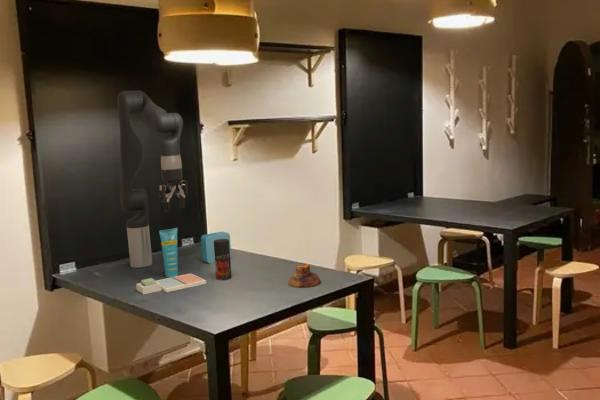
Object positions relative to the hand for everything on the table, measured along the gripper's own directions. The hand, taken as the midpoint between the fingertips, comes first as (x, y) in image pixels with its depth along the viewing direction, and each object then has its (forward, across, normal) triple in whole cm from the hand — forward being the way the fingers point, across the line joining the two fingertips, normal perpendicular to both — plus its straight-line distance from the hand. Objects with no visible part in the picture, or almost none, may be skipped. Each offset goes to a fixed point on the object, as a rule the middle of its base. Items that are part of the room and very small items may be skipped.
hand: (174, 210), depth 239 cm
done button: (+27, +12, -4) cm, 30 cm away
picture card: (+28, +2, +1) cm, 28 cm away
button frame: (+28, +12, -4) cm, 31 cm away
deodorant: (+28, -11, +13) cm, 33 cm away
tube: (+29, -6, -9) cm, 31 cm away
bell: (+28, -15, +47) cm, 56 cm away
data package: (+29, -33, -7) cm, 45 cm away
